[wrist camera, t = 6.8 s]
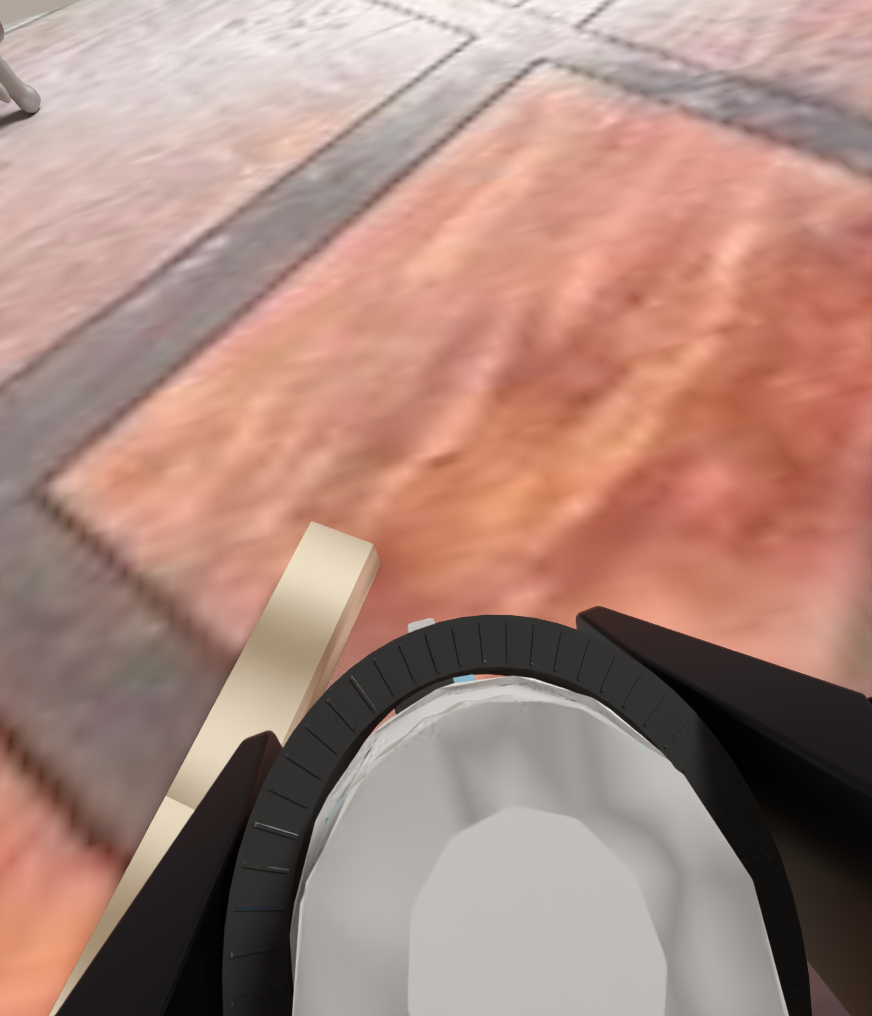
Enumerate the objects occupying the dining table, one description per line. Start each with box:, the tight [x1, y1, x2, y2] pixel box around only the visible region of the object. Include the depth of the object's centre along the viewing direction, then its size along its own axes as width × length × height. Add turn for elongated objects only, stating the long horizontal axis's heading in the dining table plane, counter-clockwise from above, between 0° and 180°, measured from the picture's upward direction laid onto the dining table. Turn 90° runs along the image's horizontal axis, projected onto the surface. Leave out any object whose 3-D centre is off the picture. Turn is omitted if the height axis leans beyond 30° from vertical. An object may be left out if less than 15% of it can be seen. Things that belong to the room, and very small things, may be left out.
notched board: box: [49, 521, 381, 1016], centre depth 16 cm, size 18×18×3 cm
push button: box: [222, 615, 812, 1016], centre depth 8 cm, size 7×5×10 cm
